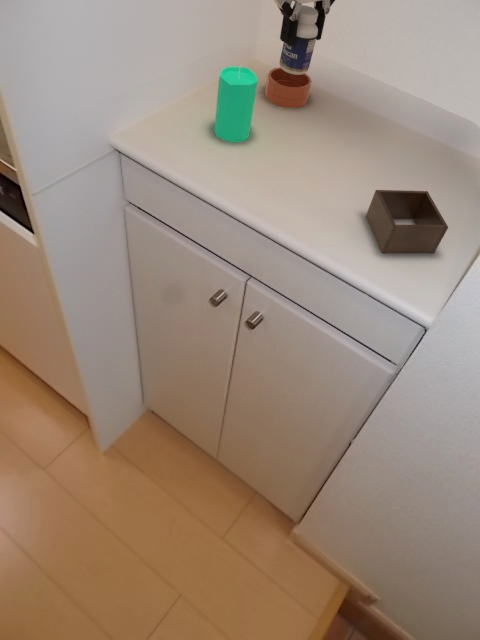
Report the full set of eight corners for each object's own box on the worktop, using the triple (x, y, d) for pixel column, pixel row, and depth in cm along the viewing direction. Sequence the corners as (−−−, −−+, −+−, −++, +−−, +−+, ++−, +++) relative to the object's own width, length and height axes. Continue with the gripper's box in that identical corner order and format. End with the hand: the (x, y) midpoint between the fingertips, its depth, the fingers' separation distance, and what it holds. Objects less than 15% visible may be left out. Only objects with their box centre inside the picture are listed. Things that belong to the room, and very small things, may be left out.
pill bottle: (273, 66, 94) (284, 7, 86) (288, 58, 97) (300, 0, 89) (298, 78, 92) (312, 19, 85) (313, 69, 95) (328, 11, 88)
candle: (223, 123, 91) (231, 52, 82) (254, 135, 90) (265, 64, 81) (207, 138, 88) (213, 66, 78) (239, 150, 86) (249, 79, 77)
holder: (413, 221, 80) (427, 190, 76) (431, 257, 75) (448, 227, 71) (363, 220, 78) (375, 189, 74) (379, 257, 73) (393, 226, 69)
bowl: (301, 91, 103) (306, 68, 99) (309, 113, 98) (315, 89, 94) (261, 89, 101) (265, 66, 98) (268, 110, 96) (272, 87, 93)
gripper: (298, -79, 71) (276, 57, 85) (381, -86, 79) (349, 40, 93) (263, -94, 75) (248, 39, 88) (346, -99, 83) (321, 24, 96)
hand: (300, 38), depth 91 cm, fingers closed on pill bottle, 5 cm apart
